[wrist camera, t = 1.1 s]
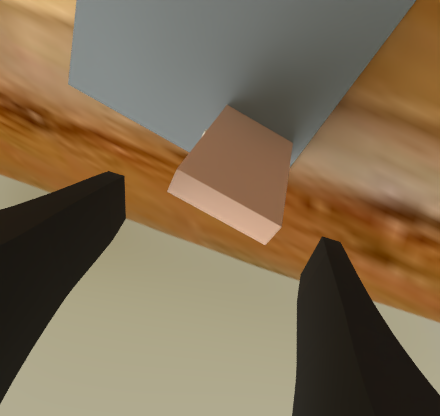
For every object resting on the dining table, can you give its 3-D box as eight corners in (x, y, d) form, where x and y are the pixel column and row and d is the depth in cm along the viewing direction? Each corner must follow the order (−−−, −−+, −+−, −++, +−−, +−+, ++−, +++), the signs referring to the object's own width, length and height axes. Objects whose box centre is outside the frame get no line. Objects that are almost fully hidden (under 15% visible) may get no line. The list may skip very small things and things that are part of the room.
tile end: (292, 143, 17) (281, 226, 11) (281, 158, 18) (265, 245, 12) (225, 103, 17) (174, 167, 11) (217, 121, 18) (164, 190, 11)
